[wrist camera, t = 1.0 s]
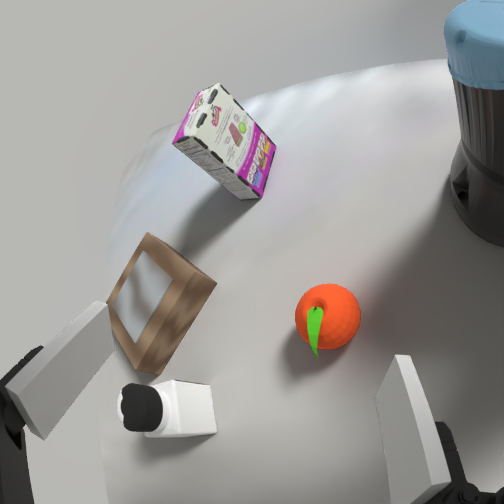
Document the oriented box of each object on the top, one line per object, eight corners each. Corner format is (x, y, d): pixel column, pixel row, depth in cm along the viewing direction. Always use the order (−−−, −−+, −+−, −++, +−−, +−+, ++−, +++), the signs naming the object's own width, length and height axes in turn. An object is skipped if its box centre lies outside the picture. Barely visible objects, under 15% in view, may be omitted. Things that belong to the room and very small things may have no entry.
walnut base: (165, 242, 59) (145, 231, 55) (217, 283, 47) (193, 270, 43) (122, 318, 58) (100, 310, 54) (160, 374, 46) (134, 369, 42)
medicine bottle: (211, 384, 40) (141, 373, 31) (218, 433, 36) (147, 434, 27) (176, 393, 42) (109, 382, 33) (182, 437, 38) (113, 436, 29)
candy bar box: (254, 151, 55) (197, 91, 43) (277, 146, 52) (220, 80, 40) (238, 202, 52) (169, 143, 40) (262, 199, 49) (193, 134, 37)
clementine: (362, 364, 30) (343, 358, 25) (305, 360, 34) (275, 352, 29) (369, 293, 33) (352, 271, 28) (314, 294, 37) (287, 274, 32)
